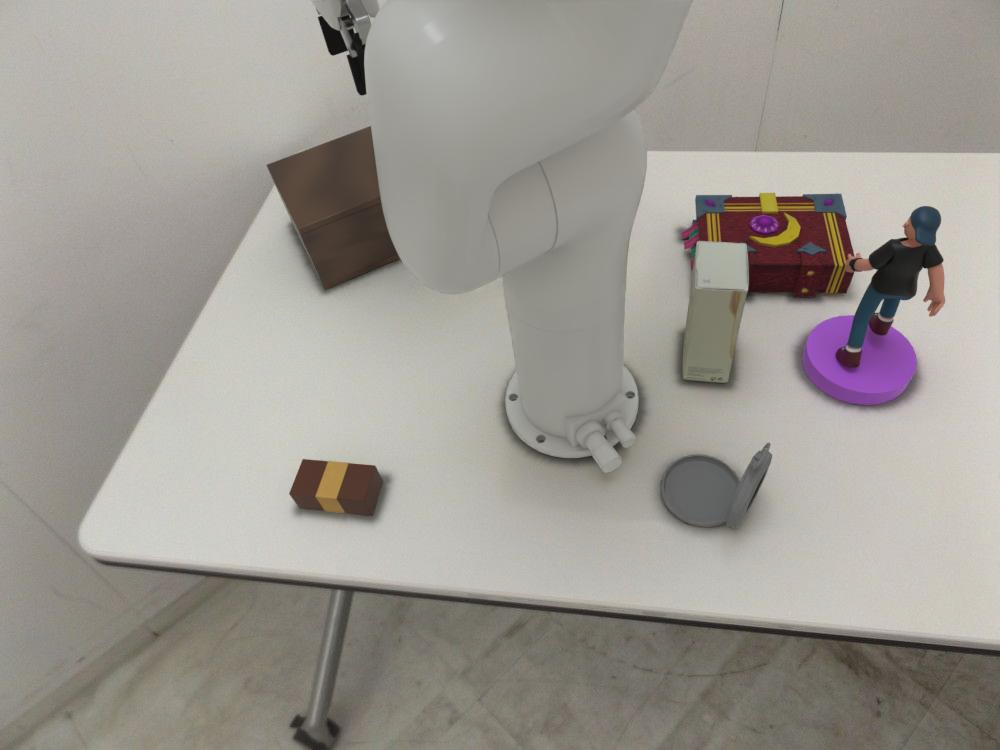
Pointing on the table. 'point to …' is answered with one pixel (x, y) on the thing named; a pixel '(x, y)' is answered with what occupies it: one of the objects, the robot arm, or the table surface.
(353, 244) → the cabinet
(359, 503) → the chocolate bar
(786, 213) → the decorative book
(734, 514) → the pocket watch
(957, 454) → the table surface
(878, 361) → the figurine
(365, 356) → the table surface
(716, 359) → the cosmetic box
